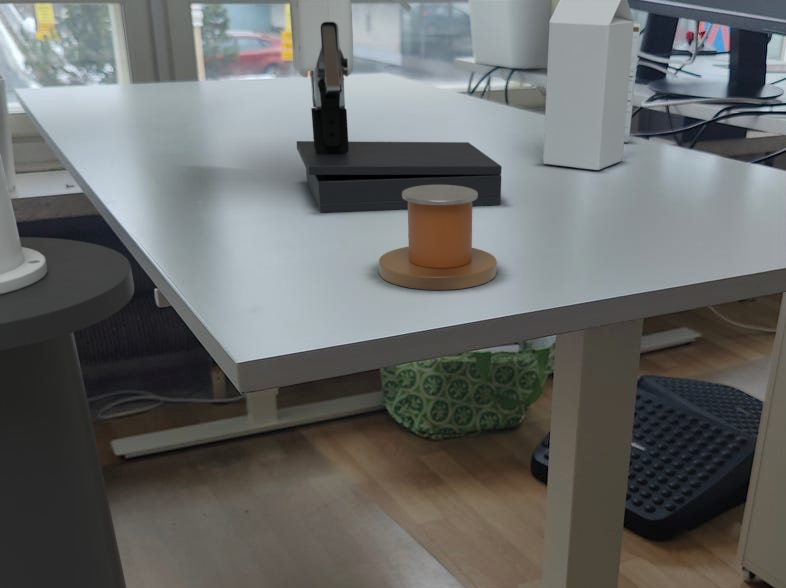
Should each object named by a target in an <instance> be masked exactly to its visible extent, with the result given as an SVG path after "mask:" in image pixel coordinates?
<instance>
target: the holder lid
mask: <svg viewBox="0 0 786 588" xmlns="http://www.w3.org/2000/svg"><path fill="white" fill-rule="evenodd" d="M348 146H349V150H348V152H347V153H341V154H318V153H317V152H316V150H315V148H314V140H312V141H311V140H303V141H302V140H296V150H297V152H298V155H299V156H300V159H301V161H302V162H303V165H304V166H305V170H306V169H307V171H308V173H309V175H501V176H502V168H503V167H502V165H501V164H499V163H497V161H495V160H493V159H492V158H491V157H490V156H488V155H486V153H484V152H482V151H481V150H480V149H478V148H477V147H476V146H474V145H473V144H471V143H470V142H468V141H467V142H466V141H463V142H461V141H450V142H449V141H444V142H443V141H348Z"/></svg>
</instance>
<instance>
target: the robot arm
mask: <svg viewBox="0 0 786 588" xmlns="http://www.w3.org/2000/svg"><path fill="white" fill-rule="evenodd" d="M288 1H289V15H290V17H289V18H290V30H291V45H292V63H293V68H294V70H296V71H297V73H299V75H300V76H302V77H303V78H308V75H309V76H310V84H311V85H310V86H311V87H310V88H311V100H312V107H311V108H310V110H311V121H312V135H313V136H312V138H313V141H314V148H315V150H316V152H317V153H318V154H341V153H347V152H348V150H349V146H348V142H349V132H348V130H349V129H348V114H347V113H348V111H347V108H346V101H345V77H346V78H347V77H348V76H350V75H351V74H352V73H353V70H354V31H353V29H354V28H353V10H352V0H288ZM4 168H5V167H4V163H3V159H2V155H1V153H0V295H2V294H6V293H9V292H13V291H17V290H19V289H22V288H25V287H28V286H30V285H32V284H34V283H36V282H38V281H39V280H40V279H42V278H43V277H44V276H45V275H46V273H47V272H48V270H47V264H46V259H45V257H44V255H42V254H41V253H39V252H38V251H35V250H32V249H29V248H24V247H21V243H20V238H19V237H20V235H19V229H18V226H17V220H16V215H15V211H14V208H13V203H12V198H11V193H10V190H9V186H8V180H7V177H6V172H5V169H4Z"/></svg>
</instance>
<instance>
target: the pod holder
mask: <svg viewBox="0 0 786 588" xmlns="http://www.w3.org/2000/svg"><path fill="white" fill-rule="evenodd" d="M305 172H306V173H305V174H306V184H307V185H308V188H309V190H310V192H311V194H312V196H313V199H314V201H315V203H316V206H317V207H318V211H319V212H320V213H341V212H342V213H343V212H344V213H345V212H365V211H366V212H367V211H388V210H408V201H407V200H405V199H403V197H402V192H403V191H404V190H405V189H408V188H411V187H415V186H422V185H456V186H463V187H468V188H471V189H474V190H476V191H477V193H478V197H477V199H476V200H474V201H472V207H479V206H480V207H481V206H483V207H484V206H500V205H501V203H502V197H501V196H502V174H501V175H309V173H308V171H307V169H306V168H305Z"/></svg>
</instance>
